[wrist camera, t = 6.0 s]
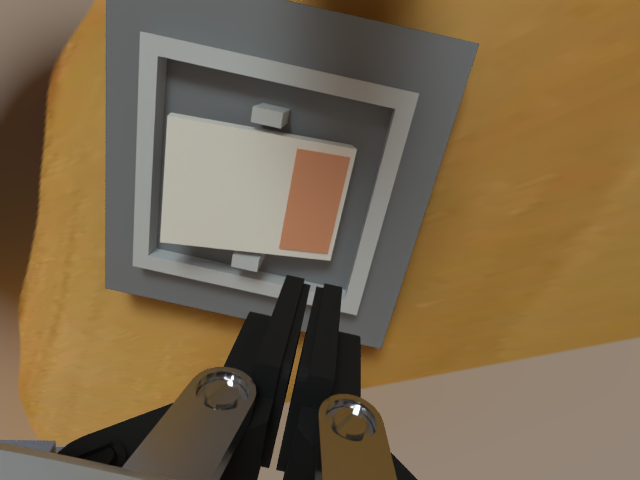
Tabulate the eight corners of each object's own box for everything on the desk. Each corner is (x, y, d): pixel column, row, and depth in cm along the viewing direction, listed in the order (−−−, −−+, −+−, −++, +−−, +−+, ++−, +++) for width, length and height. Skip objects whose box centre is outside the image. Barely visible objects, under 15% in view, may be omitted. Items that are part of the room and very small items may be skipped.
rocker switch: (351, 144, 24) (357, 149, 23) (326, 252, 27) (330, 261, 25) (171, 112, 22) (167, 116, 20) (163, 233, 24) (159, 243, 23)
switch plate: (465, 47, 24) (494, 39, 19) (378, 325, 32) (383, 373, 27) (134, -28, 24) (75, -54, 19) (126, 269, 32) (82, 307, 27)
